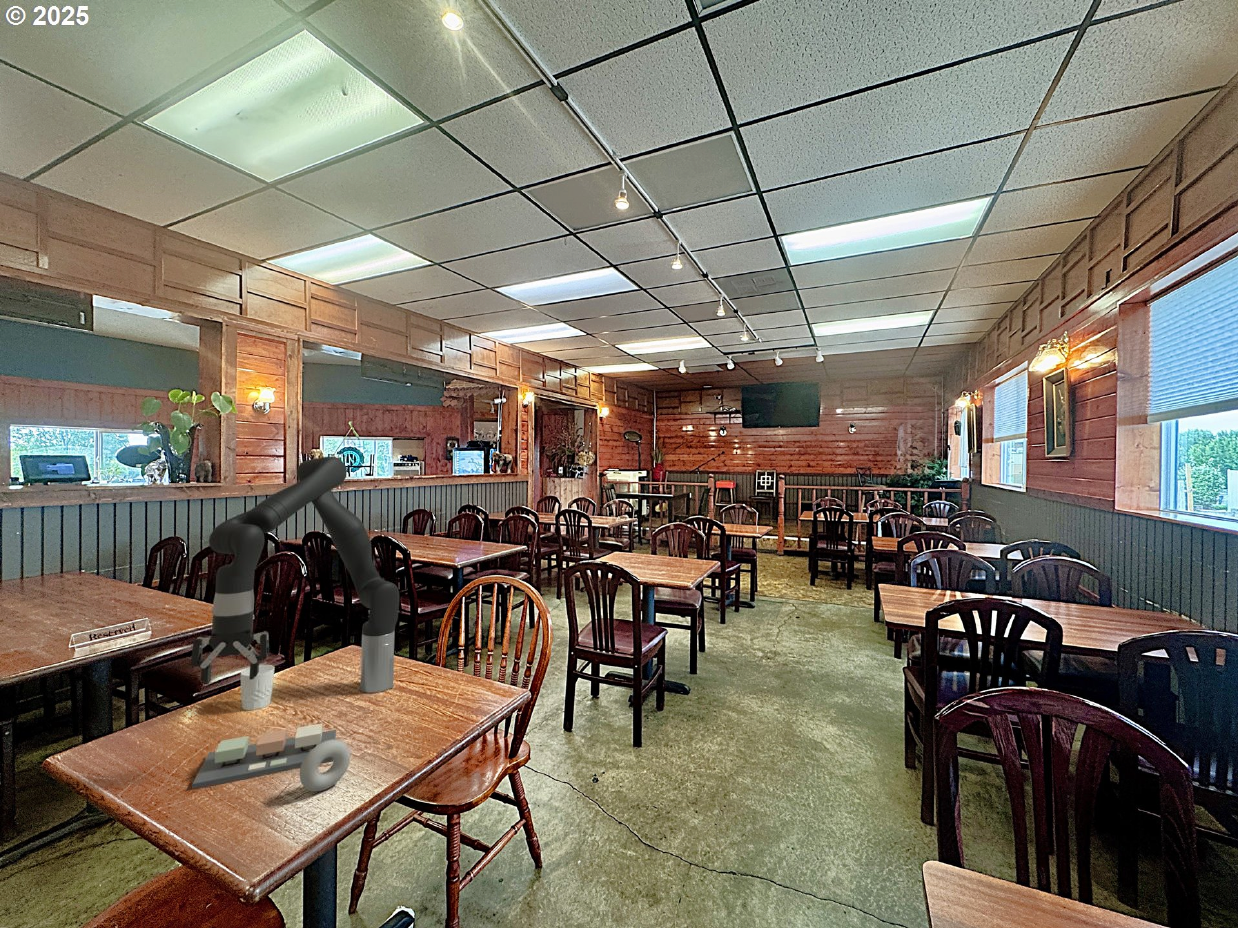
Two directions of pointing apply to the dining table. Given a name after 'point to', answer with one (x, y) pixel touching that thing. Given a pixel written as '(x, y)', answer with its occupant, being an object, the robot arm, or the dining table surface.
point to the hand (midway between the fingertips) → (230, 680)
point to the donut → (333, 774)
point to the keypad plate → (255, 764)
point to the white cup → (257, 688)
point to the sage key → (231, 750)
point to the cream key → (308, 736)
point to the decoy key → (271, 743)
